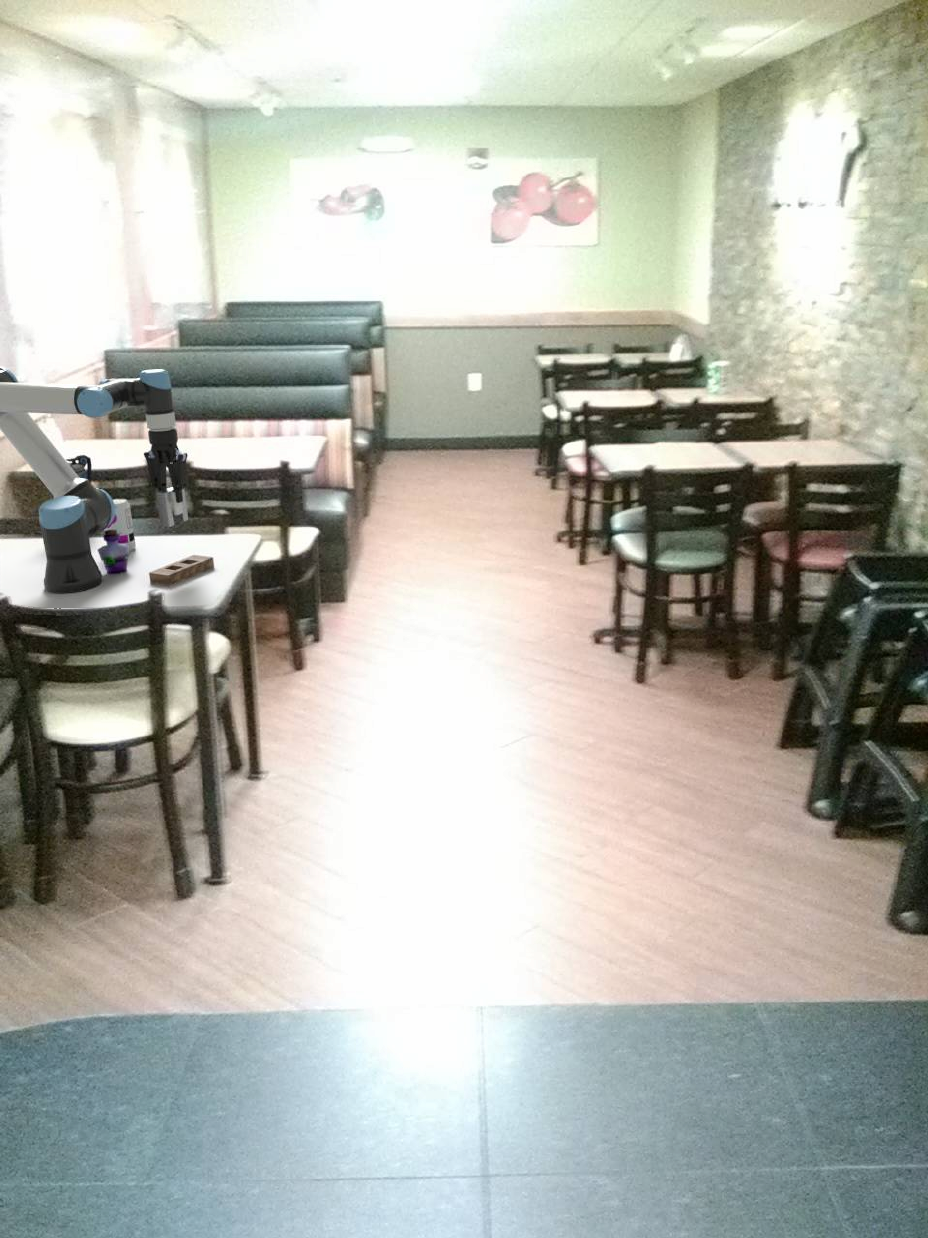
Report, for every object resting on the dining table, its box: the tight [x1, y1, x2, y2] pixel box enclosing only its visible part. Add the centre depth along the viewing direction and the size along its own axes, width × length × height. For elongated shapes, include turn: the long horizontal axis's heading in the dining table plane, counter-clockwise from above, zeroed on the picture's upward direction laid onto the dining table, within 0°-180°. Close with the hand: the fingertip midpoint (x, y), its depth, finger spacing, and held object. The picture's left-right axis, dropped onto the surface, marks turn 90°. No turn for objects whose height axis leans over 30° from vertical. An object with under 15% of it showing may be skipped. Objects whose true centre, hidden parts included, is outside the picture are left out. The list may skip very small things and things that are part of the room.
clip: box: [155, 486, 189, 528], centre depth 316 cm, size 8×3×10 cm, turn 154°
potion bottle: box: [97, 530, 130, 575], centre depth 322 cm, size 9×9×12 cm
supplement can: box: [103, 498, 137, 553], centre depth 343 cm, size 8×8×15 cm
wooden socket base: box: [148, 554, 215, 587], centre depth 317 cm, size 18×7×3 cm, turn 151°
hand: (173, 513), depth 316 cm, fingers closed on clip, 3 cm apart
